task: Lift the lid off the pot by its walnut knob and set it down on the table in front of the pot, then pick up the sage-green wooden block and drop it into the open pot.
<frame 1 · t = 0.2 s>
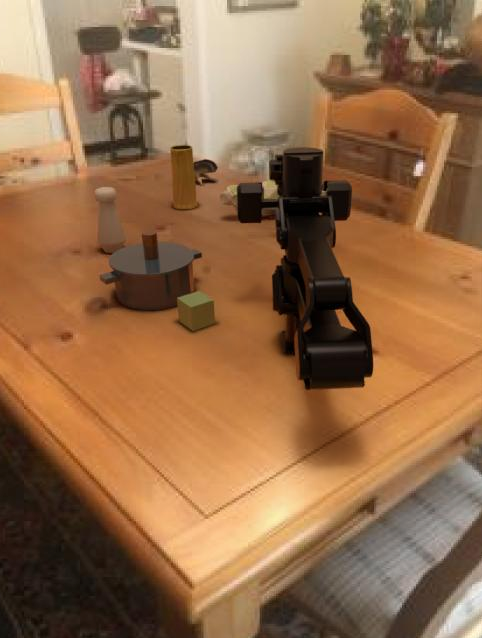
hand: (288, 188, 110), 17 cm above the table, tool horizontal, fingers open, 9 cm apart
vase: (185, 206, 156), on the table
pot: (155, 292, 114), on the table
decorative object: (271, 215, 150), on the table
lid: (151, 259, 110), point 6 cm above the table, touching pot
block: (196, 322, 104), on the table
salt shaker: (113, 250, 132), on the table
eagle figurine: (199, 183, 173), on the table
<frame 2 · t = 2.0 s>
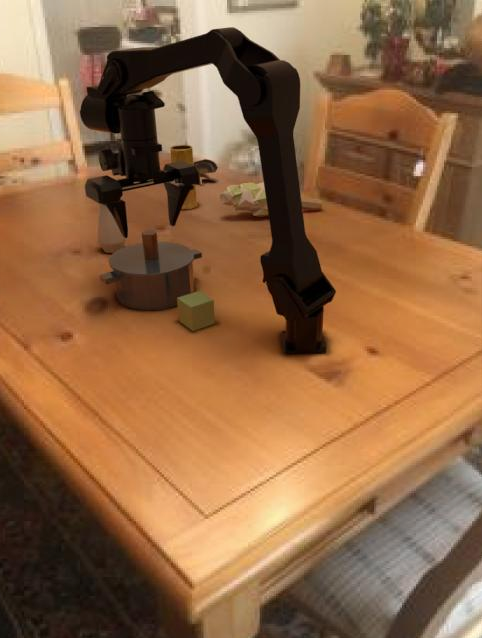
hand: (149, 231, 107), 12 cm above the table, tool pointing down, fingers open, 9 cm apart
nothing on the table moved.
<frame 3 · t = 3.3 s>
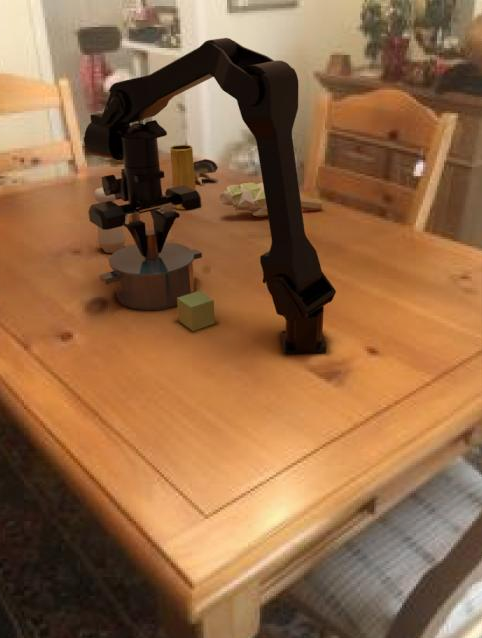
hand: (151, 254, 110), 8 cm above the table, tool pointing down, fingers closed on lid, 2 cm apart
lid: (151, 259, 110), point 7 cm above the table, touching pot, gripper
everything else where it was.
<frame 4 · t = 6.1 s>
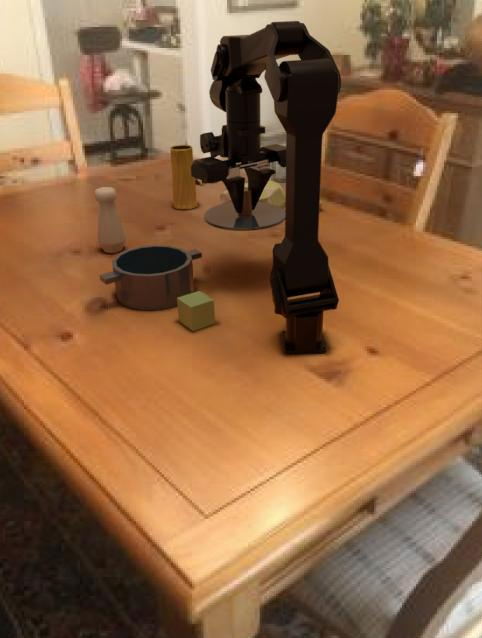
hand: (245, 211, 112), 13 cm above the table, tool pointing down, fingers closed on lid, 2 cm apart
lid: (245, 216, 113), point 12 cm above the table, touching gripper
everything else where it was.
when the fingers open (2 cm above the table, at t = 8.9 s): lid stays where it is, point 1 cm above the table.
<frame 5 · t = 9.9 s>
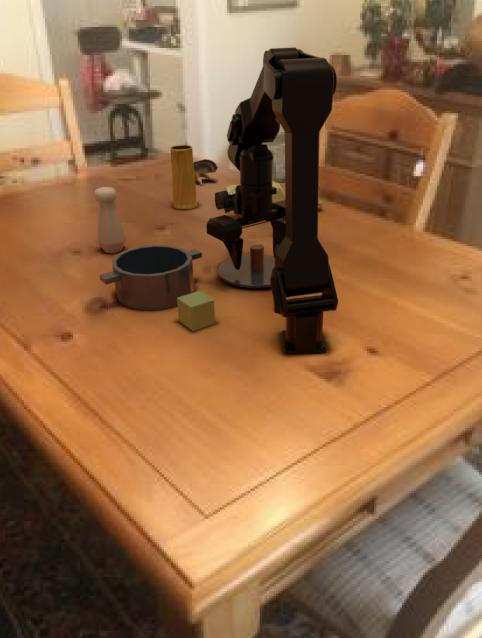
hand: (256, 263, 119), 2 cm above the table, tool pointing down, fingers open, 9 cm apart
lid: (257, 271, 120), point 1 cm above the table
everything else where it was.
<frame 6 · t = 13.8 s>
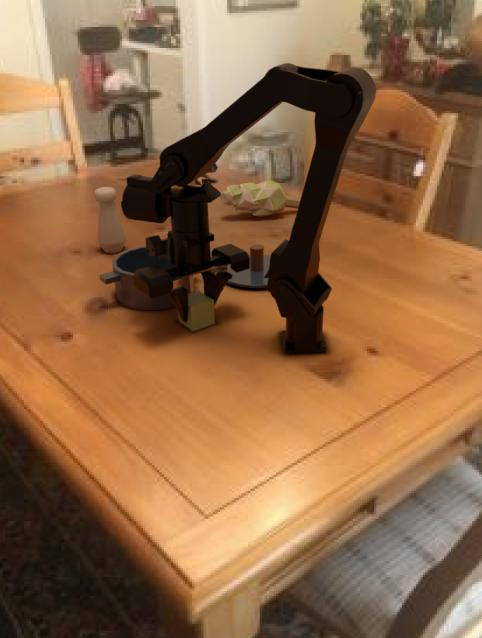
hand: (196, 317, 103), 1 cm above the table, tool pointing down, fingers closed on block, 4 cm apart
block: (196, 322, 104), on the table, touching gripper
everything else where it was.
when the fingers open (7 cm above the table, at t = 18.2 s): block drops 5 cm, resting on pot.
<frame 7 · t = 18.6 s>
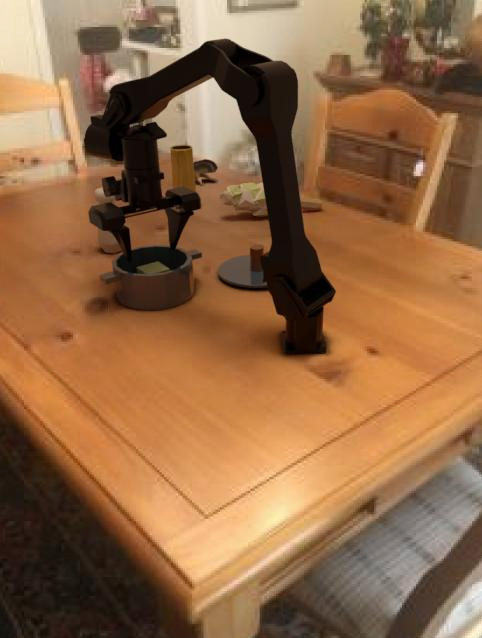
hand: (151, 255, 110), 7 cm above the table, tool pointing down, fingers open, 8 cm apart
block: (155, 290, 113), point 1 cm above the table, touching pot
everything else where it was.
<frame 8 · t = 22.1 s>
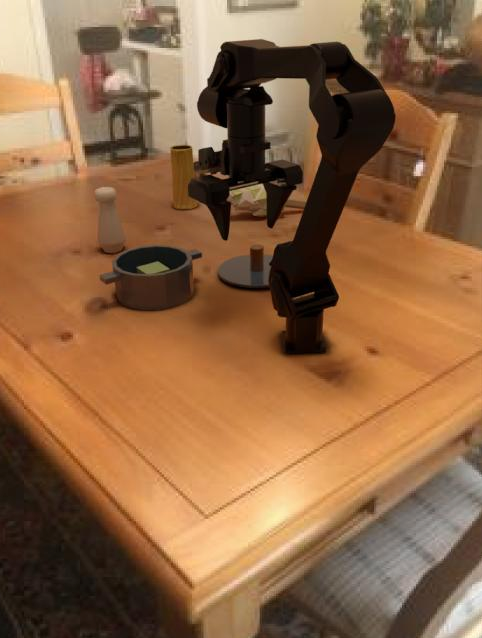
hand: (248, 233, 102), 13 cm above the table, tool pointing down, fingers open, 9 cm apart
nothing on the table moved.
at the end: lid inside the target area (0.0 cm from its centre), point 0.6 cm above the table; lid tilted 0°; block inside the target area in the pot (0.0 cm from its centre), point 0.5 cm above the pot's base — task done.
